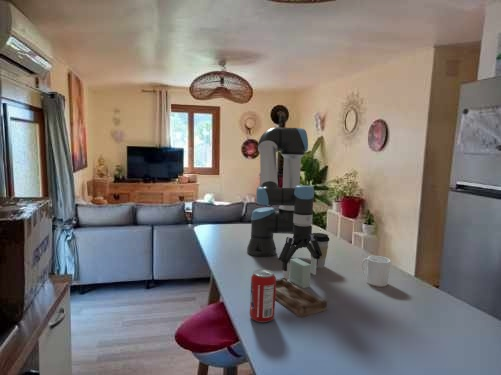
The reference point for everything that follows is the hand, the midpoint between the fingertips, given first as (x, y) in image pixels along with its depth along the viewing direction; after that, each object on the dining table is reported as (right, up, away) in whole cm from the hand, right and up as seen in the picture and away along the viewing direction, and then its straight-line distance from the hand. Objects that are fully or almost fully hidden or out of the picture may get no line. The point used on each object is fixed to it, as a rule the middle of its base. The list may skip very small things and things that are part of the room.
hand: (299, 276), depth 139 cm
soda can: (-16, -6, -29) cm, 34 cm away
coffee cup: (+12, -1, +22) cm, 25 cm away
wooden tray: (-5, -5, -15) cm, 16 cm away
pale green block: (0, -3, +1) cm, 3 cm away
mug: (+31, -4, +4) cm, 32 cm away
